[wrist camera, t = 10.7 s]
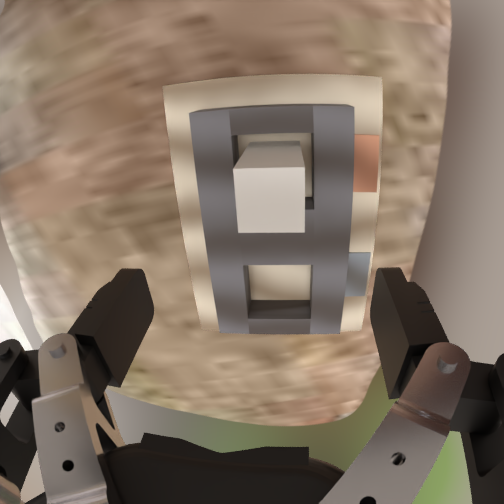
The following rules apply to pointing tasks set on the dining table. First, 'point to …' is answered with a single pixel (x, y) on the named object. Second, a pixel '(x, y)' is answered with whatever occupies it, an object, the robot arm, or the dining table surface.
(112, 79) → the dining table surface
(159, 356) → the dining table surface
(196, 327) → the dining table surface
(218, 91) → the socket board
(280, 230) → the white rectangular block
